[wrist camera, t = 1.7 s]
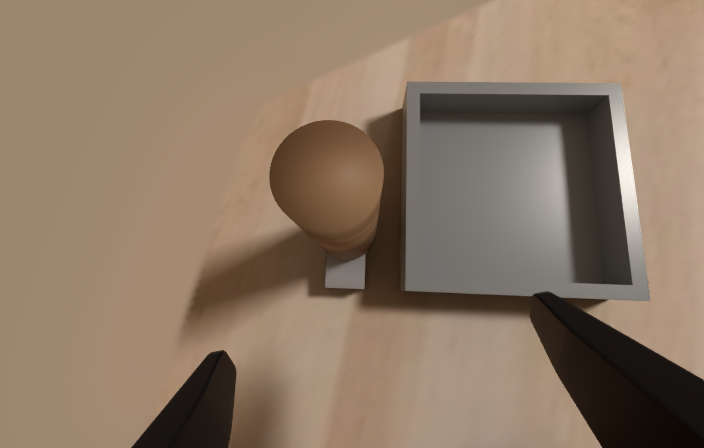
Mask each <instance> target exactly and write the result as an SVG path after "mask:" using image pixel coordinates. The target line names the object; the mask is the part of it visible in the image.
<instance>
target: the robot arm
mask: <svg viewBox="0 0 704 448" xmlns="http://www.w3.org/2000/svg"><path fill="white" fill-rule="evenodd" d="M529 314H530V319H531V322H532V324H533V326H534V328H535V330H536V332H537V334H538V336H539V338H540V340H541V343H542V345H543V347H544V349H545V351H546V353H547V355H548V357H549V359H550V361H551V363H552V365H553V367H554V369H555V371H556V373H557V375H558V376H559V378H560V380H561V381H562V383H563V385H564V386H565V388H566V390H567V391H568V393H569V394H570V396H571V398H572V399H573V401H574V403H575V404H576V406H577V407H578V409H579V411H580V412H581V414H582V416H583V417H584V419H585V420H586V422H587V424H588V425H589V427H590V428H591V430H592V432H593V433H594V435H595V437H596V438H597V440H598V441H599V443H600V445H601V446H602V448H704V380H703V379H701V378H699V377H698V376H696V375H694V374H693V373H691V372H689V371H687V370H686V369H684V368H682V367H680V366H679V365H677V364H675V363H673V362H672V361H670V360H668V359H666V358H665V357H663V356H661V355H659V354H658V353H656V352H654V351H652V350H651V349H649V348H647V347H645V346H644V345H642V344H640V343H639V342H637V341H635V340H633V339H632V338H630V337H628V336H626V335H625V334H623V333H621V332H619V331H618V330H616V329H614V328H612V327H611V326H609V325H607V324H605V323H604V322H602V321H600V320H598V319H597V318H595V317H593V316H591V315H590V314H588V313H586V312H584V311H583V310H581V309H579V308H578V307H576V306H574V305H572V304H571V303H569V302H567V301H565V300H564V299H562V298H560V297H558V296H557V295H555V294H553V293H551V292H548V291H544V292H539V293H535V294H533V296H532V300H531V306H530V313H529ZM235 384H236V368H235V365H234V364H233V362H232V360H231V359H230V357H229V356H228V354H227V353H226V351H224V350H221V351H216V352H211V353H210V354H208V355H207V357H206V358H205V359H204V360H203V361H202V363H201V364H200V365H199V366H198V368H197V369H196V370H195V371H194V372H193V374H192V375H191V376H190V377H189V378H188V380H187V381H186V382H185V383H184V384H183V386H182V387H181V388H180V389H179V391H178V392H177V393H176V394H175V395H174V397H173V398H172V399H171V400H170V401H169V403H168V404H167V405H166V406H165V407H164V409H163V410H162V411H161V412H160V414H159V415H158V416H157V417H156V418H155V420H154V421H153V422H152V423H151V424H150V426H149V427H148V428H147V429H146V430H145V432H144V433H143V434H142V435H141V437H140V438H139V439H138V440H137V441H136V443H135V444H134V445H133V446H132V447H131V448H228V445H229V440H230V434H231V428H232V419H233V408H234V396H235Z"/></svg>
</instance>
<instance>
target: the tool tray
mask: <svg viewBox="0 0 704 448" xmlns="http://www.w3.org/2000/svg"><path fill="white" fill-rule="evenodd" d="M400 291H418V292H442V293H465V294H489V295H513V296H533V294H535V293H539V292H544V291H548V292H551V293H553V294H555V295H557V296H558V297H560V298H584V299H607V300H633V301H650V294H649V287H648V280H647V272H646V265H645V257H644V250H643V243H642V235H641V228H640V220H639V213H638V206H637V198H636V191H635V184H634V176H633V169H632V161H631V154H630V147H629V139H628V132H627V124H626V117H625V110H624V102H623V95H622V88H621V83H492V82H407V86H406V91H405V96H404V102H403V107H402V177H401V259H400Z"/></svg>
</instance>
